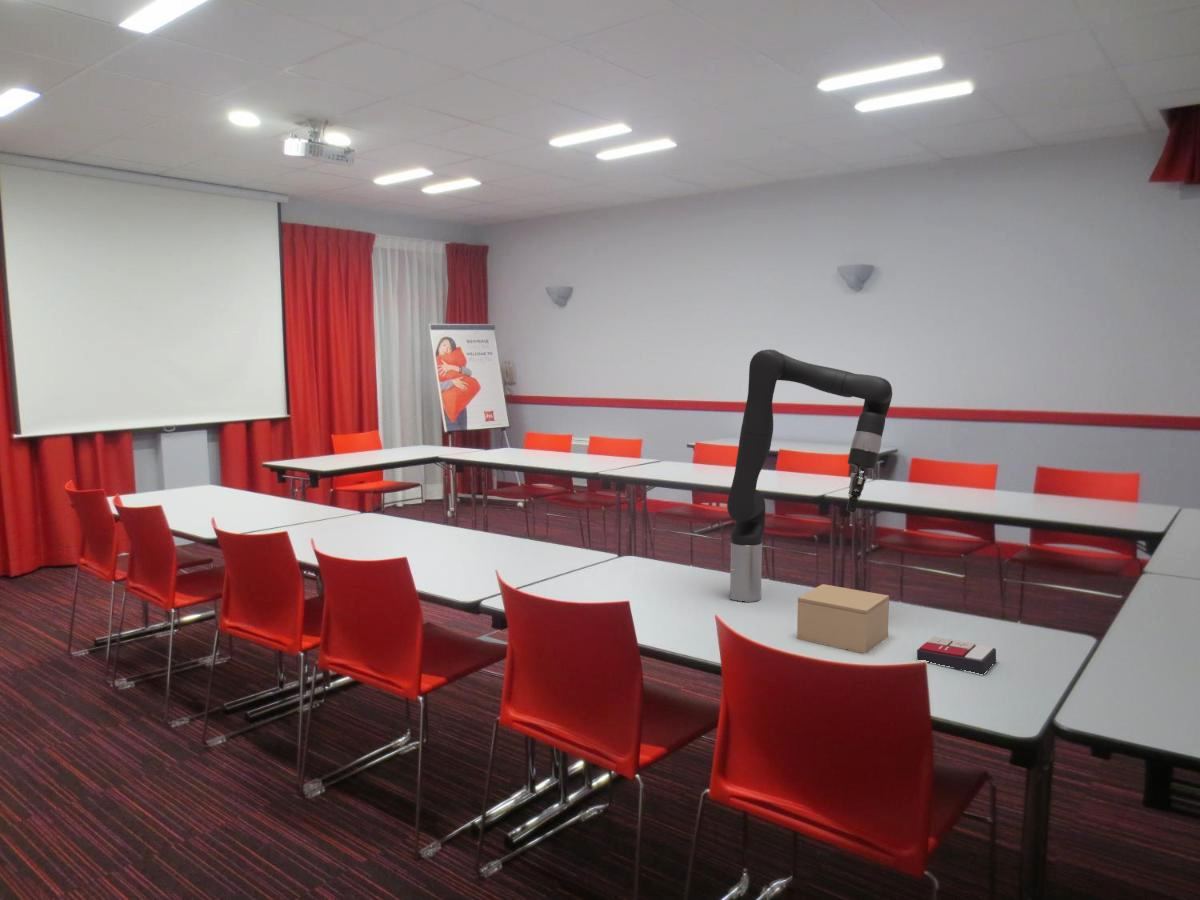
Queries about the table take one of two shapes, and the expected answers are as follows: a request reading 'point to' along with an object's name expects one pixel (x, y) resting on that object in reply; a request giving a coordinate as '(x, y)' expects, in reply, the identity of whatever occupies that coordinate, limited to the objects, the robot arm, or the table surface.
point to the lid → (844, 598)
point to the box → (842, 626)
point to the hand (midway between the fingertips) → (850, 511)
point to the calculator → (958, 654)
